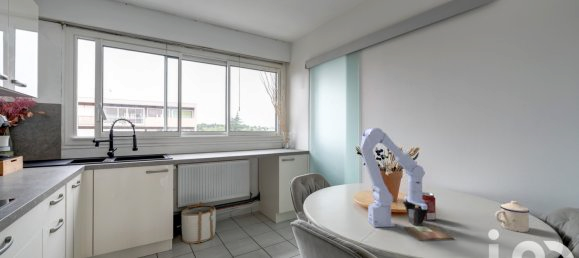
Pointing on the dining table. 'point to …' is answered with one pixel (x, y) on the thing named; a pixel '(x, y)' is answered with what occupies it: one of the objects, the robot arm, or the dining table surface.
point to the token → (413, 217)
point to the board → (428, 233)
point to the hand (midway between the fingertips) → (415, 220)
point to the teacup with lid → (514, 217)
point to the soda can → (429, 206)
